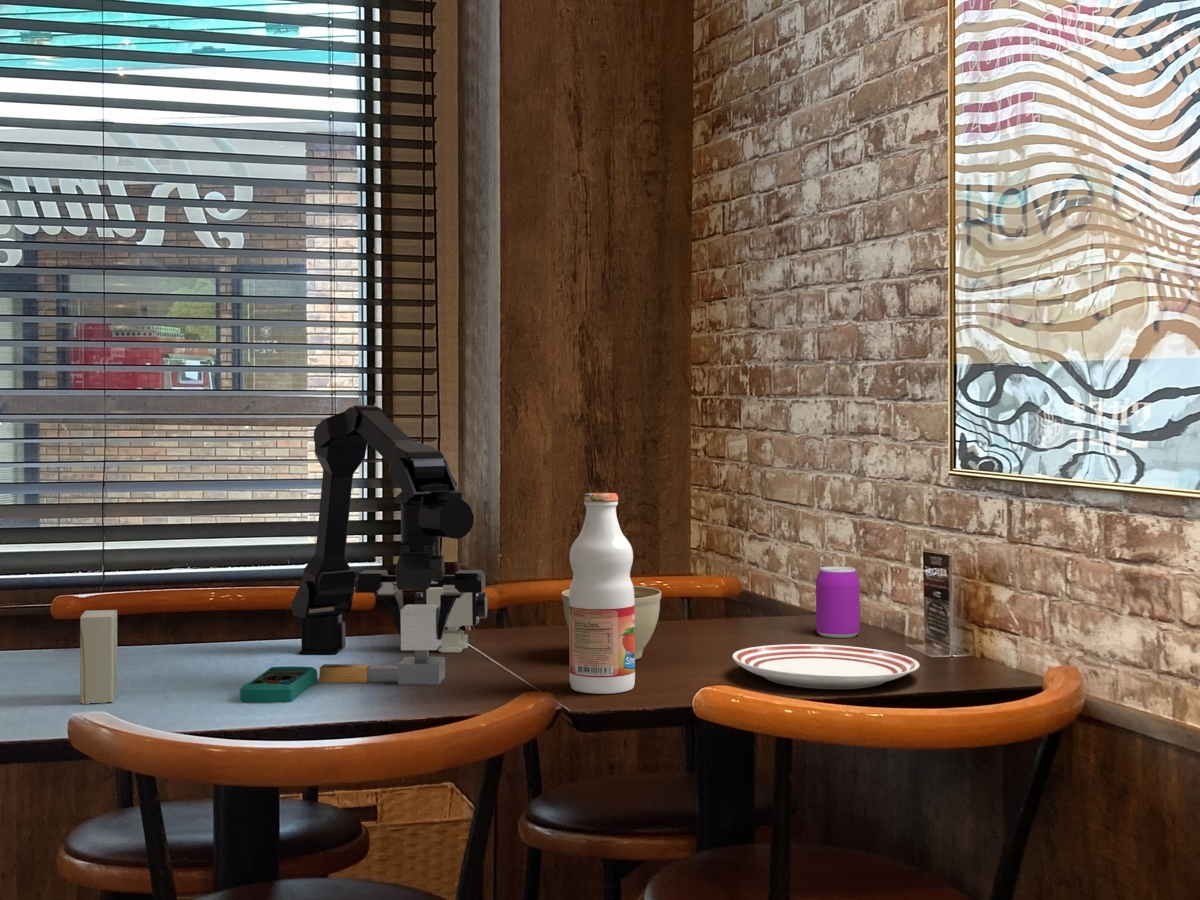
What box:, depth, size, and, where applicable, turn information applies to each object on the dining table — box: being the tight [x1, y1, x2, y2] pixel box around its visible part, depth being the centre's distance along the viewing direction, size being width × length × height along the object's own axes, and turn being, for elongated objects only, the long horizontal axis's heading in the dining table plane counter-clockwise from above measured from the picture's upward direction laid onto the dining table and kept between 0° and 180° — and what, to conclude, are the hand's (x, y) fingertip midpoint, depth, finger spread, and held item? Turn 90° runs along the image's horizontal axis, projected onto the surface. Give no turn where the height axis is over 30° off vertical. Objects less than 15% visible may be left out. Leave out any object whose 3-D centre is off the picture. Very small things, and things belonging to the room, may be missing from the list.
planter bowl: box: [561, 585, 662, 661], centre depth 209 cm, size 16×16×11 cm
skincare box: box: [79, 609, 118, 705], centre depth 180 cm, size 6×4×12 cm
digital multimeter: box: [239, 666, 318, 703], centre depth 184 cm, size 7×15×3 cm, turn 178°
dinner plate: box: [731, 643, 920, 690], centre depth 192 cm, size 28×27×3 cm
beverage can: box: [815, 565, 861, 639], centre depth 230 cm, size 8×8×12 cm
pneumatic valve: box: [414, 587, 489, 654], centre depth 217 cm, size 6×12×12 cm, turn 89°
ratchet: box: [319, 650, 446, 686], centre depth 192 cm, size 18×6×6 cm, turn 88°
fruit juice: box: [568, 492, 636, 695], centre depth 185 cm, size 9×9×28 cm
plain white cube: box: [400, 603, 441, 651], centre depth 192 cm, size 5×5×6 cm
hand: (421, 639), depth 192 cm, fingers closed on plain white cube, 5 cm apart
